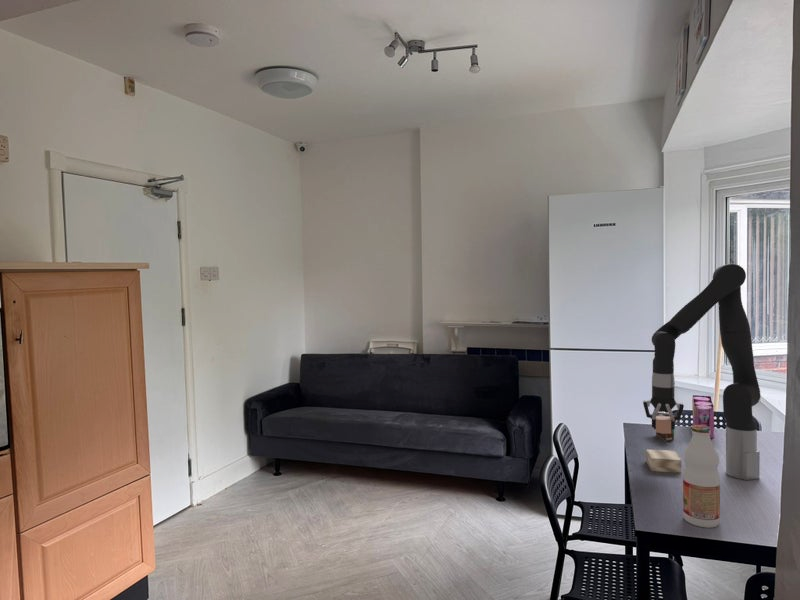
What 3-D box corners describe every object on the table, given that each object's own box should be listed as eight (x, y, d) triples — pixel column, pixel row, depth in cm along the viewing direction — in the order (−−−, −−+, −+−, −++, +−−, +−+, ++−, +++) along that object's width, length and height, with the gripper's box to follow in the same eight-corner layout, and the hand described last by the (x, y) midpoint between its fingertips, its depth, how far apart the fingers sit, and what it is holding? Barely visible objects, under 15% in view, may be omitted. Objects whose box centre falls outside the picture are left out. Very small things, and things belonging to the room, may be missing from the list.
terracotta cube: (670, 429, 199) (670, 416, 198) (671, 433, 194) (671, 420, 194) (655, 428, 201) (655, 415, 200) (655, 432, 196) (655, 419, 196)
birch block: (674, 463, 201) (674, 450, 201) (681, 473, 192) (681, 460, 191) (646, 462, 204) (646, 449, 204) (651, 471, 194) (651, 458, 194)
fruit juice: (704, 531, 149) (703, 433, 148) (675, 517, 158) (675, 425, 156) (727, 524, 152) (727, 429, 151) (698, 511, 161) (698, 420, 160)
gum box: (714, 439, 227) (714, 408, 227) (693, 437, 231) (693, 406, 230) (711, 424, 249) (711, 396, 248) (692, 422, 252) (692, 394, 252)
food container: (682, 442, 224) (682, 419, 224) (667, 443, 224) (667, 419, 224) (668, 433, 237) (668, 411, 236) (654, 434, 237) (654, 412, 236)
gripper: (684, 383, 197) (683, 428, 198) (641, 381, 203) (641, 425, 204) (685, 388, 190) (685, 434, 191) (642, 385, 196) (642, 430, 197)
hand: (663, 429), depth 197 cm, fingers closed on terracotta cube, 5 cm apart
